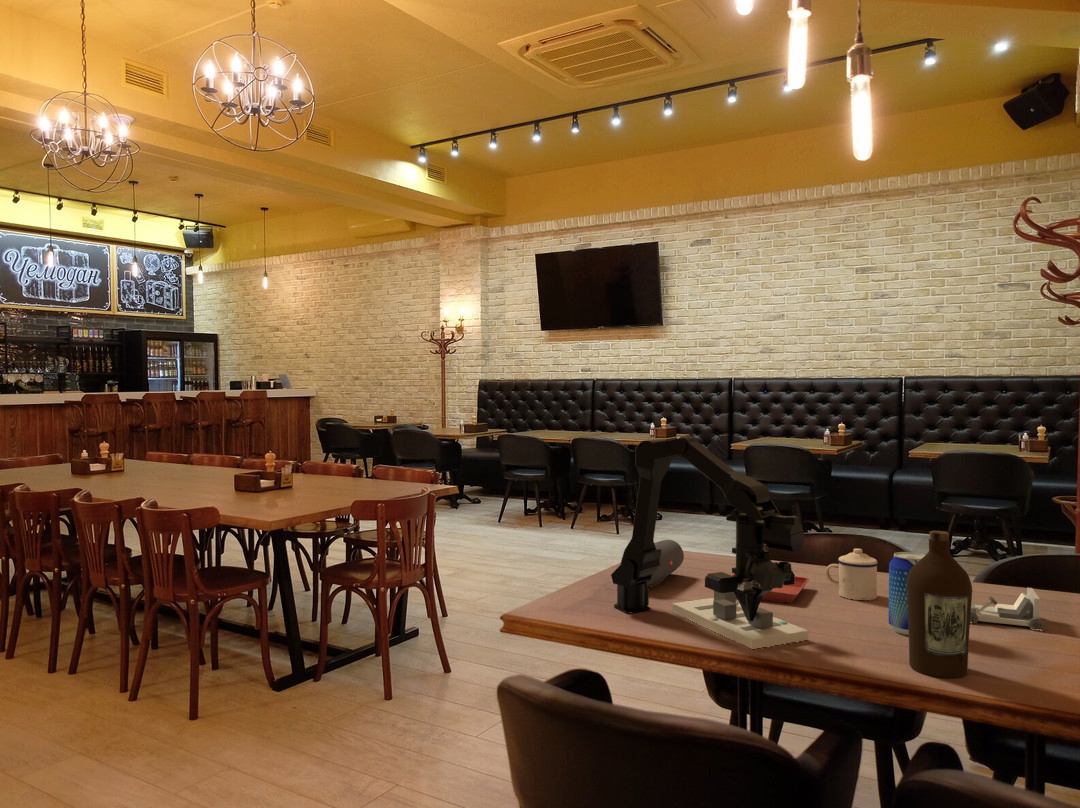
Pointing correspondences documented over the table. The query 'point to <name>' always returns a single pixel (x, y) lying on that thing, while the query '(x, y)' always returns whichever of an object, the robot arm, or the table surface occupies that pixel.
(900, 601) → the beer can
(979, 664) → the table surface
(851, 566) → the teacup with lid
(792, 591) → the plant saucer
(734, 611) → the dark grey box
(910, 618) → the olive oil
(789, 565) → the robot arm
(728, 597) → the grey block
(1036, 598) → the toy car
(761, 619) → the dark grey block
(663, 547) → the bluetooth speaker
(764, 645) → the switch board
